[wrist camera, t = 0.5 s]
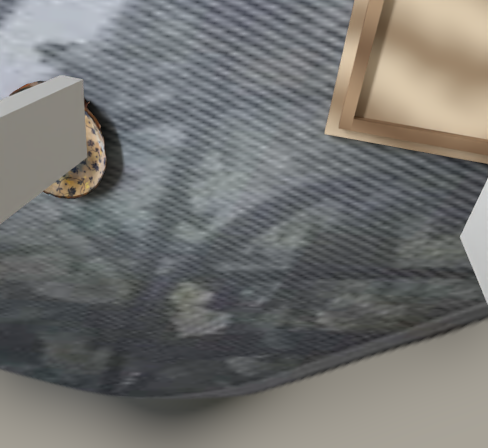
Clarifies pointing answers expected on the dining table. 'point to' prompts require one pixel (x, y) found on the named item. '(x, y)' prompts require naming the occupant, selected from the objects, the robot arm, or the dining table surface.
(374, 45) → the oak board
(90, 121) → the burger
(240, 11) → the dining table surface
